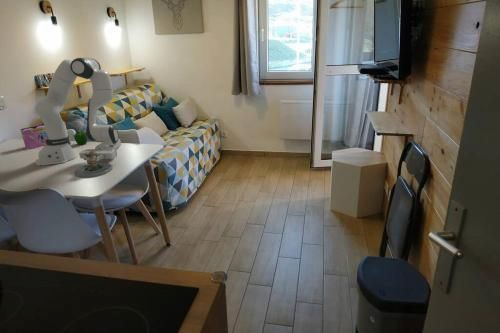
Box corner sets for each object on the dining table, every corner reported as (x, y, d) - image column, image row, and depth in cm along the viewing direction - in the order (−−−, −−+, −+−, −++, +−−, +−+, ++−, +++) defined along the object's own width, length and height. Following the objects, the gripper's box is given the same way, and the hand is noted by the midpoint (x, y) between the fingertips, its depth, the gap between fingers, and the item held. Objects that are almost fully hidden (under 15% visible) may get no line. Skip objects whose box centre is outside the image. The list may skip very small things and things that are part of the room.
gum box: (60, 139, 262) (56, 121, 257) (64, 141, 257) (60, 123, 252) (25, 147, 247) (19, 128, 242) (28, 149, 241) (23, 130, 236)
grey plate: (75, 180, 188) (74, 177, 187) (74, 168, 204) (73, 165, 204) (114, 173, 196) (113, 170, 195) (110, 162, 212) (110, 159, 212)
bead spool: (88, 172, 196) (84, 155, 193) (88, 168, 201) (84, 152, 197) (99, 169, 198) (95, 153, 195) (98, 166, 203) (94, 150, 199)
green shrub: (86, 145, 246) (83, 131, 242) (74, 146, 245) (71, 132, 242) (90, 141, 254) (87, 128, 250) (78, 142, 253) (75, 129, 250)
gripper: (86, 145, 209) (72, 153, 197) (118, 146, 207) (106, 153, 194) (88, 155, 212) (74, 163, 199) (119, 156, 209) (108, 164, 196)
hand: (90, 158), depth 196 cm, fingers open, 6 cm apart
